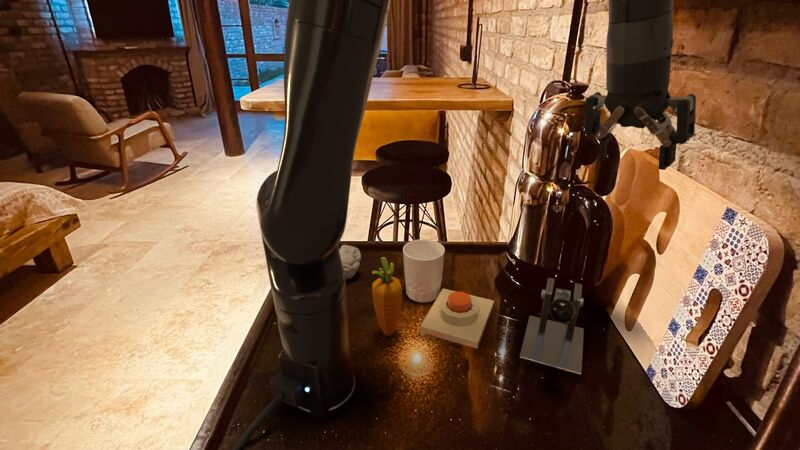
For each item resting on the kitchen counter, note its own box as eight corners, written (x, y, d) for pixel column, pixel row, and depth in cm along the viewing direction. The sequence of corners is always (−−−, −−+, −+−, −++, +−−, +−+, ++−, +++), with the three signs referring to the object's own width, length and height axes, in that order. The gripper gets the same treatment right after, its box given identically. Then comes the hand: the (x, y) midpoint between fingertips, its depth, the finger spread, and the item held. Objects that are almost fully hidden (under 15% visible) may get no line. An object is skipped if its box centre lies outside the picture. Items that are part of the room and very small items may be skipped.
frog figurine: (368, 274, 87) (366, 245, 84) (345, 289, 82) (343, 260, 79) (347, 265, 91) (345, 237, 88) (324, 279, 86) (321, 250, 83)
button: (467, 316, 69) (467, 307, 68) (444, 310, 70) (445, 302, 70) (473, 302, 72) (473, 294, 71) (451, 297, 74) (452, 289, 73)
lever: (572, 328, 51) (577, 303, 51) (546, 321, 52) (550, 297, 52) (571, 309, 63) (574, 288, 63) (549, 304, 64) (553, 284, 64)
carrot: (399, 347, 67) (398, 271, 61) (370, 343, 68) (366, 268, 62) (405, 328, 72) (404, 254, 65) (378, 324, 73) (374, 252, 66)
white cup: (431, 309, 76) (432, 264, 72) (395, 296, 80) (394, 252, 75) (449, 288, 82) (451, 245, 78) (415, 277, 86) (415, 235, 81)
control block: (477, 352, 66) (479, 333, 64) (419, 336, 70) (420, 317, 68) (493, 309, 76) (495, 292, 74) (442, 297, 80) (442, 280, 78)
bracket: (580, 380, 61) (595, 317, 56) (518, 362, 64) (528, 301, 59) (582, 333, 70) (596, 276, 64) (528, 320, 73) (537, 264, 68)
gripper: (572, 63, 58) (576, 166, 66) (686, 59, 47) (674, 182, 55) (600, 47, 61) (601, 147, 69) (713, 40, 50) (698, 159, 58)
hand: (633, 163), depth 62 cm, fingers open, 8 cm apart
